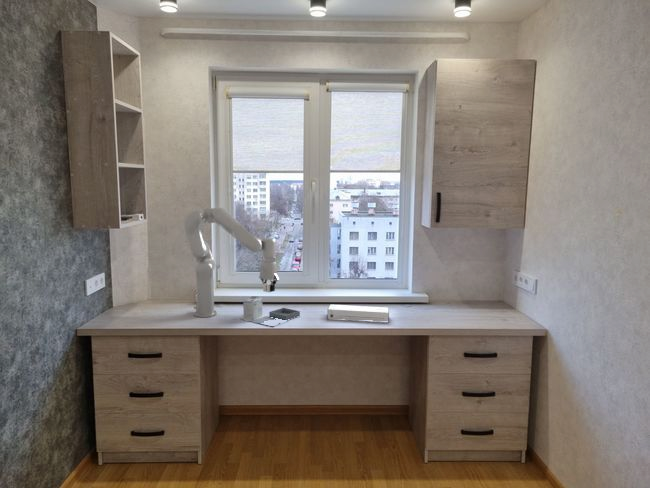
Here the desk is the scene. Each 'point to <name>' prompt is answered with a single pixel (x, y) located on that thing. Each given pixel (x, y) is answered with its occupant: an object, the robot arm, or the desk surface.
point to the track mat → (260, 319)
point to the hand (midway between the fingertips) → (269, 290)
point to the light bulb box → (252, 308)
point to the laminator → (358, 313)
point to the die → (266, 287)
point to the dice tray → (284, 313)
